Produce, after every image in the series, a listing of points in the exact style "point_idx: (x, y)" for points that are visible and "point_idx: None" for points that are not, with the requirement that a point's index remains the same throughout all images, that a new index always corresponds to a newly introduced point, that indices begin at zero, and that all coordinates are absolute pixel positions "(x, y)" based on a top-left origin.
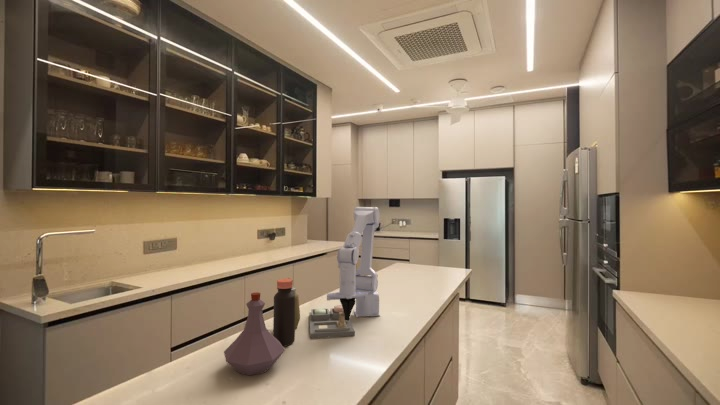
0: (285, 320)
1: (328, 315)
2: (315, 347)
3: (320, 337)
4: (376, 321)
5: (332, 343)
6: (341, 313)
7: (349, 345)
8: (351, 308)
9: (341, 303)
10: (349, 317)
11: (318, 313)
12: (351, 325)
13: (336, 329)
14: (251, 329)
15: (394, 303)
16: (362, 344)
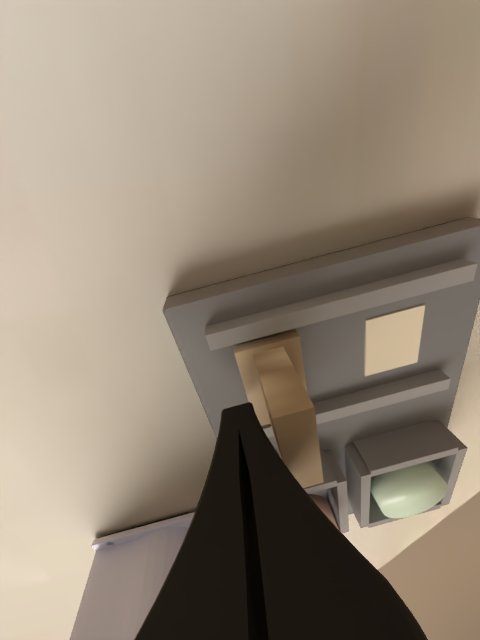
0: None
1: (362, 467)
2: (468, 10)
3: (401, 235)
4: (88, 492)
5: (320, 126)
6: (303, 461)
7: (169, 85)
8: (198, 531)
9: (404, 610)
10: (220, 427)
11: (424, 471)
12: (207, 400)
13: (308, 304)
14: None
15: (71, 626)
16: (52, 121)
